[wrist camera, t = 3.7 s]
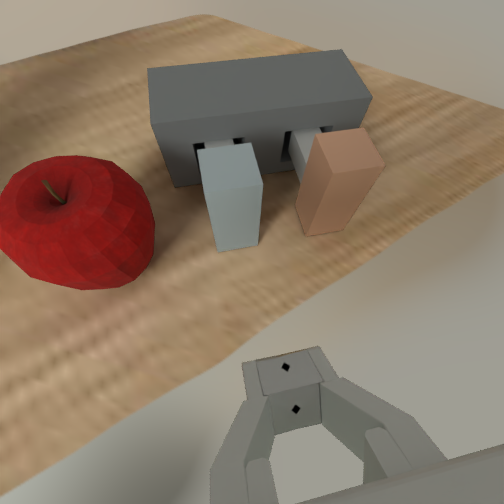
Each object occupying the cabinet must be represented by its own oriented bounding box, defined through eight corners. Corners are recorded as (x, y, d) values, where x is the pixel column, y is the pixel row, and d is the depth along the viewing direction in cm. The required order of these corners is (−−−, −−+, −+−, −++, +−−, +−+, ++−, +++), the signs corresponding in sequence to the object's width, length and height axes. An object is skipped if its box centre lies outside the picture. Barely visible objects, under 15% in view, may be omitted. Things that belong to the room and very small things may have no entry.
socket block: (174, 187, 28) (150, 124, 21) (169, 137, 32) (147, 68, 25) (342, 162, 31) (372, 97, 23) (321, 118, 34) (341, 49, 27)
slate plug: (217, 252, 25) (204, 193, 17) (204, 174, 29) (188, 97, 21) (257, 245, 25) (263, 184, 17) (239, 169, 30) (236, 92, 21)
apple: (47, 265, 24) (-88, 191, 14) (126, 201, 28) (60, 105, 18) (117, 331, 22) (11, 295, 12) (194, 251, 25) (161, 172, 15)
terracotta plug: (305, 236, 26) (333, 173, 18) (280, 163, 30) (293, 85, 22) (342, 229, 26) (386, 165, 18) (313, 159, 30) (337, 81, 22)
